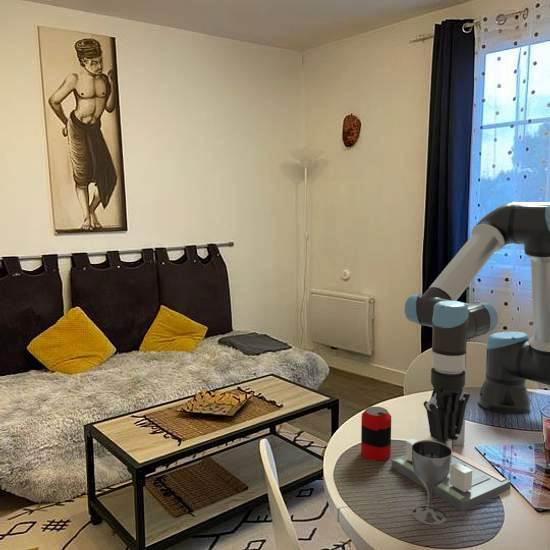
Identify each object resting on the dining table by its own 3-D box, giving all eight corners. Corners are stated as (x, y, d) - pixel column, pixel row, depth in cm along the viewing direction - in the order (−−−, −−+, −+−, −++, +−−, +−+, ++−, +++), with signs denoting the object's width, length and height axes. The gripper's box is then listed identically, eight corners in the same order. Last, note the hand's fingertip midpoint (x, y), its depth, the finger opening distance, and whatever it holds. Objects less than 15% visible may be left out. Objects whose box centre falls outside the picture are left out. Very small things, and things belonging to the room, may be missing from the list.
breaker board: (437, 450, 145) (437, 442, 144) (510, 489, 126) (510, 480, 126) (391, 466, 137) (391, 458, 136) (461, 511, 118) (462, 501, 118)
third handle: (457, 480, 125) (457, 462, 125) (471, 489, 122) (472, 470, 121) (449, 483, 124) (450, 465, 123) (463, 492, 121) (464, 473, 120)
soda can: (373, 464, 138) (373, 419, 136) (355, 451, 145) (355, 408, 143) (396, 457, 142) (397, 413, 140) (378, 445, 148) (379, 403, 146)
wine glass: (405, 505, 121) (406, 441, 118) (440, 502, 121) (442, 439, 119) (417, 527, 113) (419, 459, 110) (455, 524, 114) (457, 457, 111)
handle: (412, 455, 137) (413, 438, 137) (424, 462, 134) (425, 445, 133) (405, 458, 136) (406, 441, 135) (417, 464, 133) (418, 447, 132)
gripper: (455, 359, 133) (451, 450, 137) (415, 369, 126) (412, 464, 130) (480, 368, 126) (476, 463, 130) (440, 379, 120) (437, 479, 124)
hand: (444, 464), depth 130 cm, fingers closed
